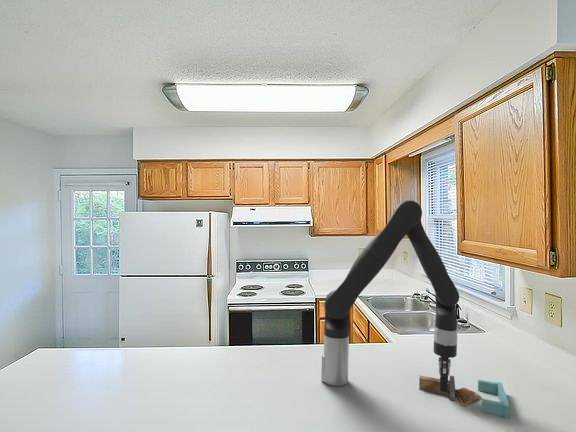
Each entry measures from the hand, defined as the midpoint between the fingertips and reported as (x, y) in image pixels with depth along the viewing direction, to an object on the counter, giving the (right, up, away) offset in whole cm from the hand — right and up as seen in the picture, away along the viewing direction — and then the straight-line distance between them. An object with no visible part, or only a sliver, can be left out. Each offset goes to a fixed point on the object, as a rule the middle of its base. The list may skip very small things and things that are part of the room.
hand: (443, 389), depth 129 cm
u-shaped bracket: (+14, -1, -6) cm, 15 cm away
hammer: (-3, -1, +1) cm, 3 cm away
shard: (+7, -2, -4) cm, 9 cm away
